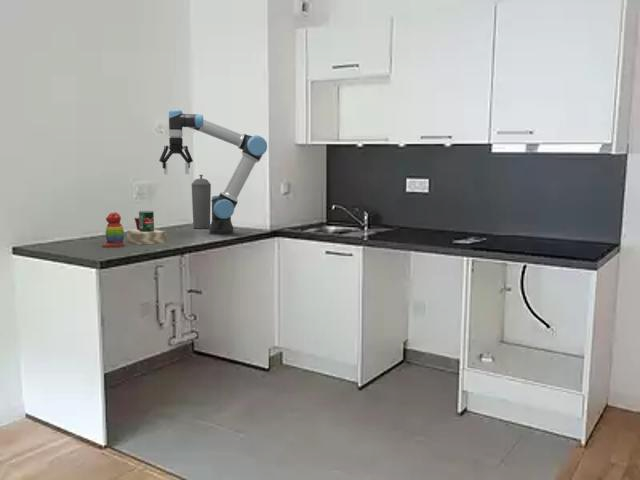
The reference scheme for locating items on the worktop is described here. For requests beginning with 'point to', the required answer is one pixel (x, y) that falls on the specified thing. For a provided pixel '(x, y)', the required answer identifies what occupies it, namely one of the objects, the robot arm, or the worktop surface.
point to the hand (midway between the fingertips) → (176, 174)
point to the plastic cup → (137, 222)
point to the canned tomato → (146, 221)
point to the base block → (146, 237)
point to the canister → (201, 203)
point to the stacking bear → (114, 231)
